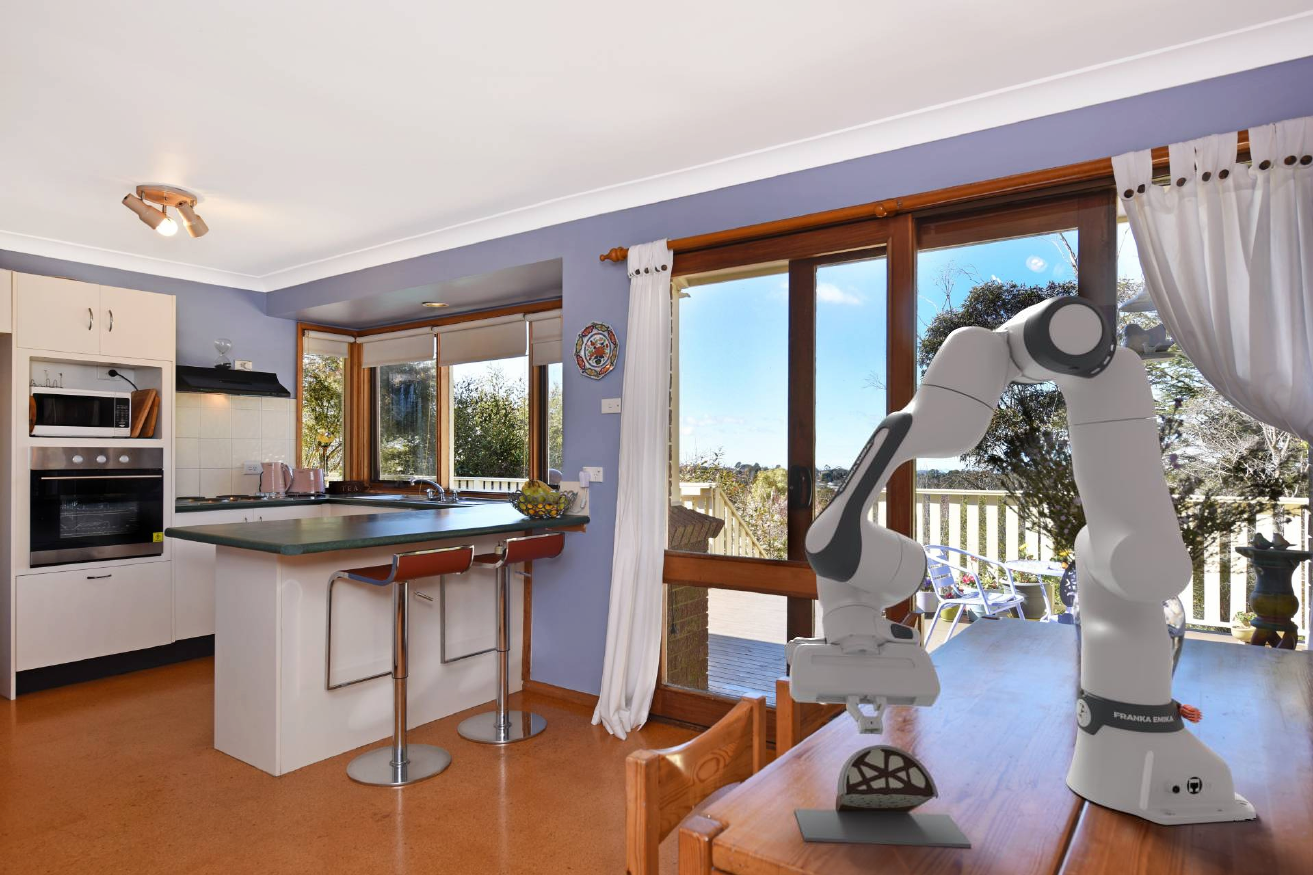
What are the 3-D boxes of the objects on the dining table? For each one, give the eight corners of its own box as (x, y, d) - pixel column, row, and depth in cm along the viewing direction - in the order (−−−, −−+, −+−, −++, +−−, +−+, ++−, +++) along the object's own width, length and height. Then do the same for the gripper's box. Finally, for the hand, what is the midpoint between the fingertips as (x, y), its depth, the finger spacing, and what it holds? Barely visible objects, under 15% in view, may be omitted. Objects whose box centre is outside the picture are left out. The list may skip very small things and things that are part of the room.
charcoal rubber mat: (948, 817, 100) (948, 814, 100) (970, 847, 92) (970, 843, 92) (794, 811, 100) (794, 808, 100) (804, 840, 93) (804, 837, 93)
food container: (909, 764, 104) (932, 741, 97) (917, 813, 101) (942, 794, 93) (818, 762, 104) (834, 739, 96) (824, 811, 100) (841, 791, 93)
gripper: (786, 625, 109) (795, 718, 99) (930, 630, 109) (954, 723, 99) (780, 648, 114) (789, 740, 104) (919, 653, 113) (941, 745, 103)
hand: (871, 732), depth 101 cm, fingers closed
